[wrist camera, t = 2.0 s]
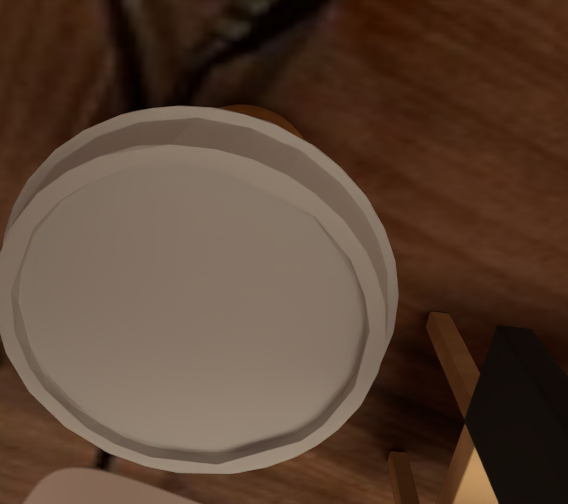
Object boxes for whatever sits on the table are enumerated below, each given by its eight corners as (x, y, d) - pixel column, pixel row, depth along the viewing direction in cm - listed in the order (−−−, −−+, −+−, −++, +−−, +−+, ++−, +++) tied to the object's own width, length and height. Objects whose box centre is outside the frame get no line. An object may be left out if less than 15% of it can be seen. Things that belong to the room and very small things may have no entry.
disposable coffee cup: (135, 259, 24) (-2, 465, 13) (136, 45, 19) (-66, 82, 9) (331, 284, 24) (360, 506, 13) (373, 80, 20) (465, 156, 9)
